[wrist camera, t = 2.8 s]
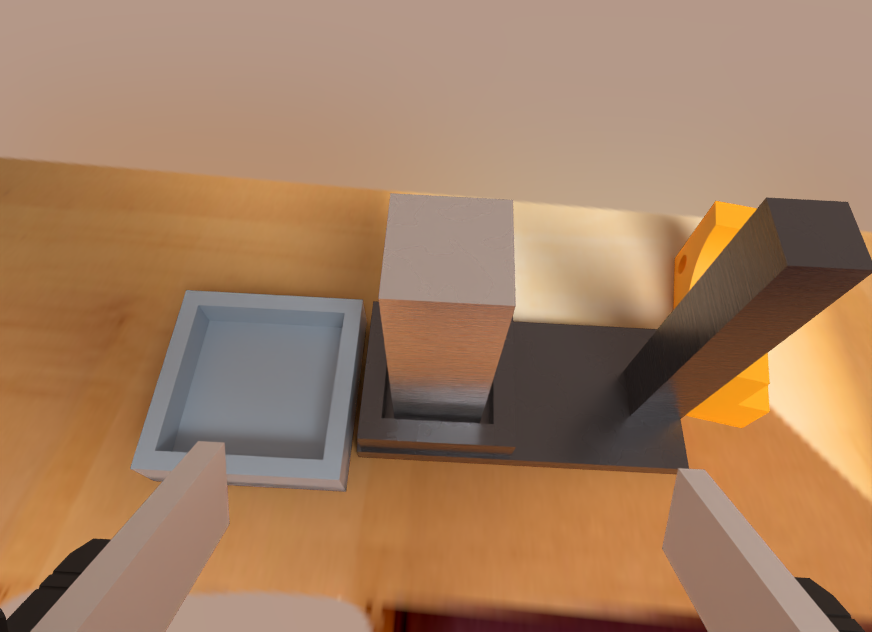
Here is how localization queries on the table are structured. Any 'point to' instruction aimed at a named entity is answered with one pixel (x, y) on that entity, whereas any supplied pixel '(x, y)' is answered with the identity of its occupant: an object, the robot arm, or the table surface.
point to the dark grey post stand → (635, 358)
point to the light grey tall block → (445, 302)
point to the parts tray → (259, 389)
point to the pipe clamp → (712, 235)
